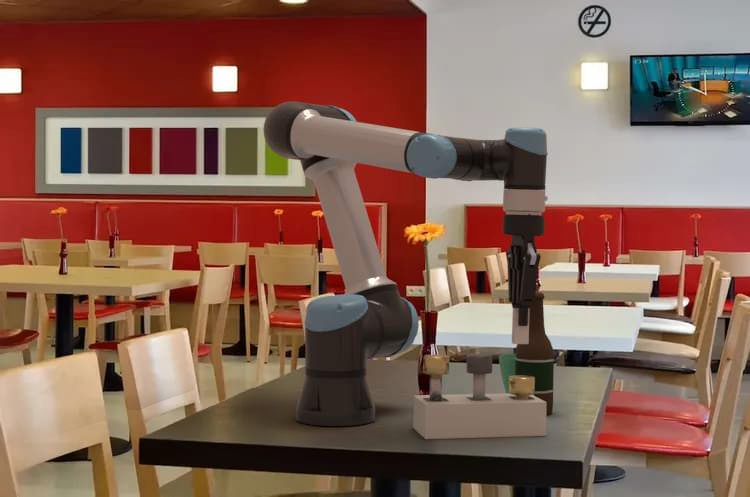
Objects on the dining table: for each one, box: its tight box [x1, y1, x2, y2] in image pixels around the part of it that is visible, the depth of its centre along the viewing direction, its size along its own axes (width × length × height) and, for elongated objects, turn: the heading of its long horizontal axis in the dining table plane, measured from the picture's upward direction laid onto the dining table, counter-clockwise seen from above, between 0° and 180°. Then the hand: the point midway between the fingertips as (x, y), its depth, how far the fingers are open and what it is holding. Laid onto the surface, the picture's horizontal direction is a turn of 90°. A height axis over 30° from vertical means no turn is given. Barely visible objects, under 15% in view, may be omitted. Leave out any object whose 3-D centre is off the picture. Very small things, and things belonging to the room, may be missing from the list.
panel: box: [412, 393, 547, 440], centre depth 195 cm, size 22×10×6 cm, turn 100°
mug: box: [498, 353, 515, 394], centre depth 226 cm, size 15×10×10 cm
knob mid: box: [466, 353, 493, 401], centre depth 195 cm, size 5×5×8 cm
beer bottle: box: [514, 291, 555, 416], centre depth 214 cm, size 8×8×24 cm
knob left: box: [422, 354, 450, 402], centre depth 193 cm, size 5×5×8 cm
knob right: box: [509, 375, 535, 400], centre depth 196 cm, size 5×5×8 cm
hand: (520, 343), depth 196 cm, fingers closed
